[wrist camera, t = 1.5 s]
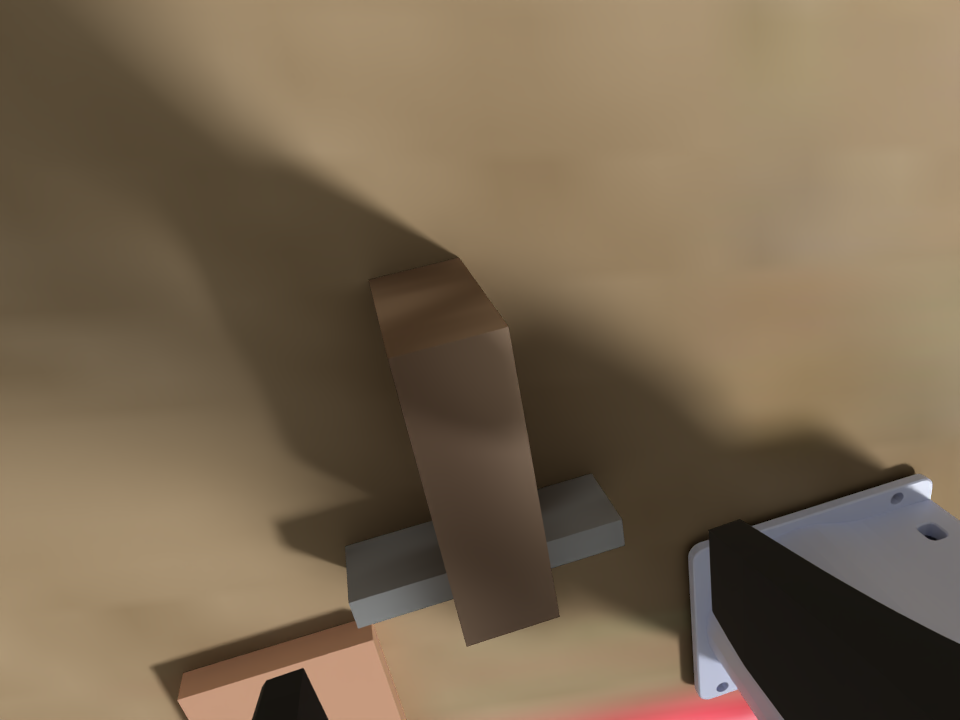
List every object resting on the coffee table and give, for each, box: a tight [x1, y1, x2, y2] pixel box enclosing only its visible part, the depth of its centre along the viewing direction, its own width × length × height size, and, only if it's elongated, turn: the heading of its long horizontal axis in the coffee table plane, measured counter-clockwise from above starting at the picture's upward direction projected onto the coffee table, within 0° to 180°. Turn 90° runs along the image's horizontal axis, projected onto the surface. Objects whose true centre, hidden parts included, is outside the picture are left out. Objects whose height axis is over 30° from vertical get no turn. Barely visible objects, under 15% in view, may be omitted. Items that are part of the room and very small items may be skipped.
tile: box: [177, 621, 407, 720], centre depth 22 cm, size 6×6×2 cm
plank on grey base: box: [345, 258, 625, 646], centre depth 17 cm, size 8×9×5 cm
